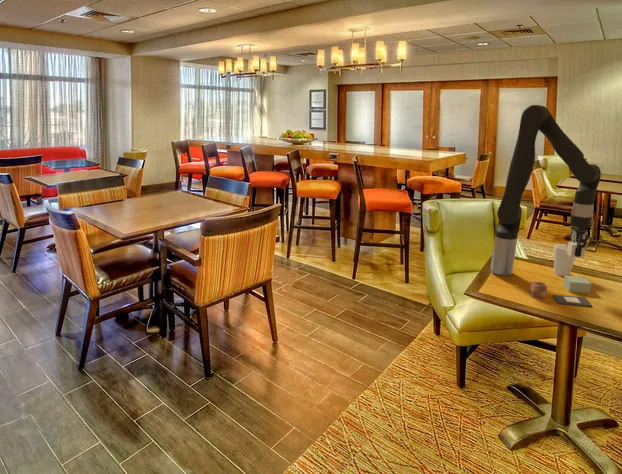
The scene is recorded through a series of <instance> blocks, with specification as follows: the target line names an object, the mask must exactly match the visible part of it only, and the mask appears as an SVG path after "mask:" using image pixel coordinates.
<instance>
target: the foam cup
mask: <svg viewBox="0 0 622 474" xmlns="http://www.w3.org/2000/svg"><path fill="white" fill-rule="evenodd" d="M567 250H568V244H563V243H558V244H554V247H553V253H554V254H553V255H554V256H553V260H554V261H553V274H554V275H556V276H560V277H565V275H567V276H570V274H571V272H572V271H571V270H572V268H573V265H574V262H575V260H576V257H570V256H569V255H568V254H567Z"/></svg>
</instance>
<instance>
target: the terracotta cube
mask: <svg viewBox="0 0 622 474" xmlns="http://www.w3.org/2000/svg"><path fill="white" fill-rule="evenodd" d="M529 288H530V289H529V294H530V296H531V298H536V299H544V300H545V299H546V298H547V292H548V286H547V285H546V283H545V282H539V281H530V287H529Z"/></svg>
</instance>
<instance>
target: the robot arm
mask: <svg viewBox="0 0 622 474" xmlns="http://www.w3.org/2000/svg"><path fill="white" fill-rule="evenodd" d="M538 132H541V133H542V134H543V135H544V136H545V138H547V140H548V141H549V143H550V146H551V147H552V149H553V151H554V152H555V153H556V155H558V157H559V158H560V159H561V160H562V161H563V162H564V164H566V165H567V166H568V168H569V170H570V172H571V173H572V175H573V177H574V178H575V179H576V180H577V181H579V184H578V188H577V189H576V190H575V192H574V193H575V194H574V199H573V205H572V208H571V213H570V219H569V220H570V221H569V224H570V227H571V228H570V238H569V240H570V241H569V242H576V249H575V256H576V257H575V258H581V257H580V256H581V252H582V248H585V246H586V243H587V240H588V237H589V235H588V234H587V232H586V228H590V227H591V226H592V223H593V217H594V211H595V210H594V208H595V206H594V205H595V200H596V191H597V189H598V187H599V184H600V180H601V176H602V174H601V173H602V172H601V168H600V167H599V166H598V165H597V164H593V163H592V164H591V163H589V162H588V161H587V160H586V158H585V154H584V153H583V152H582V150H581V149H580V148H579V147H578V146H577V145H576V144H575V142H573V141H572V139H570V137H569V136H568V135H567V134H566V133H565V132H564V131H563V130H562V128H561V126H560V125H558V123H557V122H556V120H555V118H554V117H553V115H552V113H551V112H550V111H549V109H548V108H547V107H546V106H544V105H541V104H532V105H528V106H526V107H525V109H524V110H523V111H522V114H521V116H520V122H519V129H518V134H517V139H516V143H515V146H514V150H513V152H512V153H513V154H512V158H511V160H510V164H509V168H508V172H507V177H506V182H505V189H504V193H503V195H502V198H501V201H500V204H499V205H498V208H497V212H496V216H497V218H498V224H497V226H496V227H497V228H496V229H495V230H496V231H495V235H494V236H495V238H494V245H493V250H491V251H492V252H491V253H492V254H491V261H490V268H489V269H490V272H491V274H494V275H499V276H503V277H505V276H507V277H508V276H512V275H513V272H514V271H513V270H514V264H515V256H516V249H517V241H518V236H519V235H518V234H519V231H520V227H521V221H522V214H523V212H522V206H521V201H522V197H523V194H524V192H525V190H526V187H527V185H528V183H529V182H530V179H531V176H532V175H533V174H532V173H533V170H534V166H535V163H536V162H535V161H536V140H537V136H538V134H539V133H538ZM580 243H581V245H580ZM585 249H586V248H585Z"/></svg>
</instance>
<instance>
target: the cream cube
mask: <svg viewBox="0 0 622 474" xmlns="http://www.w3.org/2000/svg"><path fill="white" fill-rule="evenodd" d="M567 245H568V250H567V254H568V255H569V256H570V257H575V258H577V257H576V256H575V249H576V242H571V241H568V244H567ZM580 245H581V243H580ZM586 248H587V246H586V245H585V248H582V252H581V256H580V257H579V258H582V259H583V258H585V254H586Z"/></svg>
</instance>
